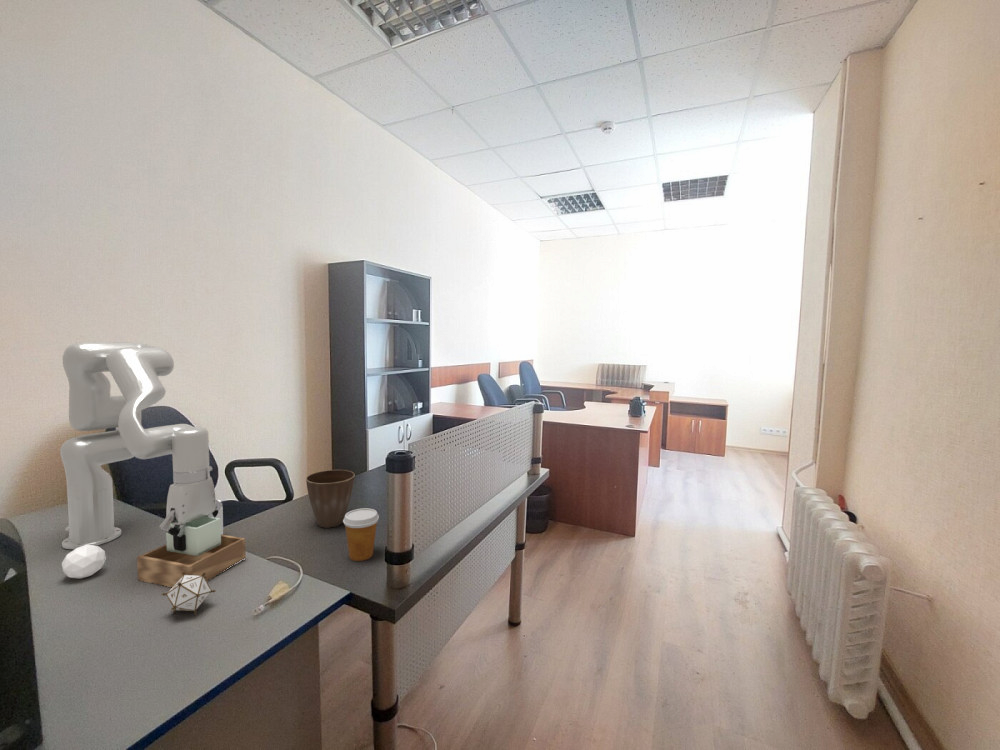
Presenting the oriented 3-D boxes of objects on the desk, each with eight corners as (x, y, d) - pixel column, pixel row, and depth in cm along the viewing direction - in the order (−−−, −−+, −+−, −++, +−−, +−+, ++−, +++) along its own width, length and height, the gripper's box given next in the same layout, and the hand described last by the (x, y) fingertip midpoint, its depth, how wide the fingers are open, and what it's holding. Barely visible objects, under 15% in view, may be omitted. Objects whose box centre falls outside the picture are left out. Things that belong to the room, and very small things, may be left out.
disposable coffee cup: (385, 551, 119) (386, 511, 118) (362, 567, 111) (361, 523, 110) (360, 544, 123) (360, 505, 122) (335, 559, 114) (335, 517, 114)
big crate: (137, 580, 103) (137, 556, 102) (198, 551, 118) (197, 530, 117) (189, 591, 98) (188, 567, 98) (245, 559, 113) (245, 538, 113)
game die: (187, 631, 90) (162, 614, 83) (171, 605, 94) (146, 587, 87) (228, 597, 95) (208, 578, 89) (212, 574, 99) (191, 554, 93)
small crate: (166, 550, 106) (165, 524, 105) (191, 539, 112) (191, 514, 112) (197, 556, 103) (196, 528, 103) (221, 544, 109) (220, 518, 109)
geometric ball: (84, 590, 103) (68, 575, 98) (64, 573, 105) (47, 558, 100) (118, 563, 108) (104, 548, 103) (98, 548, 110) (84, 533, 105)
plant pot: (342, 510, 148) (342, 466, 147) (362, 523, 138) (362, 476, 137) (299, 522, 138) (298, 475, 137) (317, 537, 127) (317, 486, 126)
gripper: (211, 465, 116) (213, 528, 117) (144, 484, 99) (147, 557, 100) (233, 467, 114) (234, 531, 115) (168, 487, 97) (170, 562, 98)
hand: (194, 542), depth 107 cm, fingers closed on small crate, 6 cm apart
